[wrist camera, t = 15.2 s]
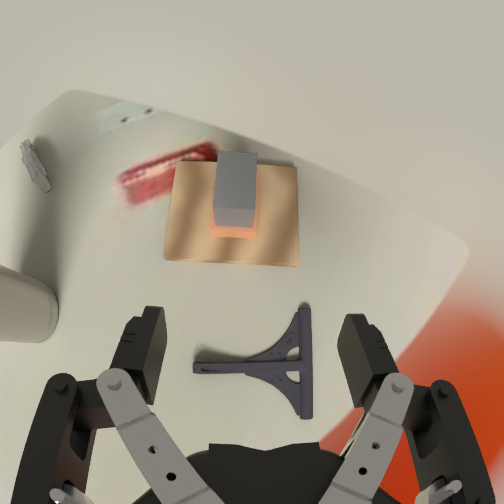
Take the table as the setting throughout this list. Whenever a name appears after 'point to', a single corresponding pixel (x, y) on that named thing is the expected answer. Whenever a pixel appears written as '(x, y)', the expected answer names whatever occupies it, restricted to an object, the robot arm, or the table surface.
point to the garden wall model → (34, 165)
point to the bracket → (280, 365)
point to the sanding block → (235, 196)
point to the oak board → (230, 248)
